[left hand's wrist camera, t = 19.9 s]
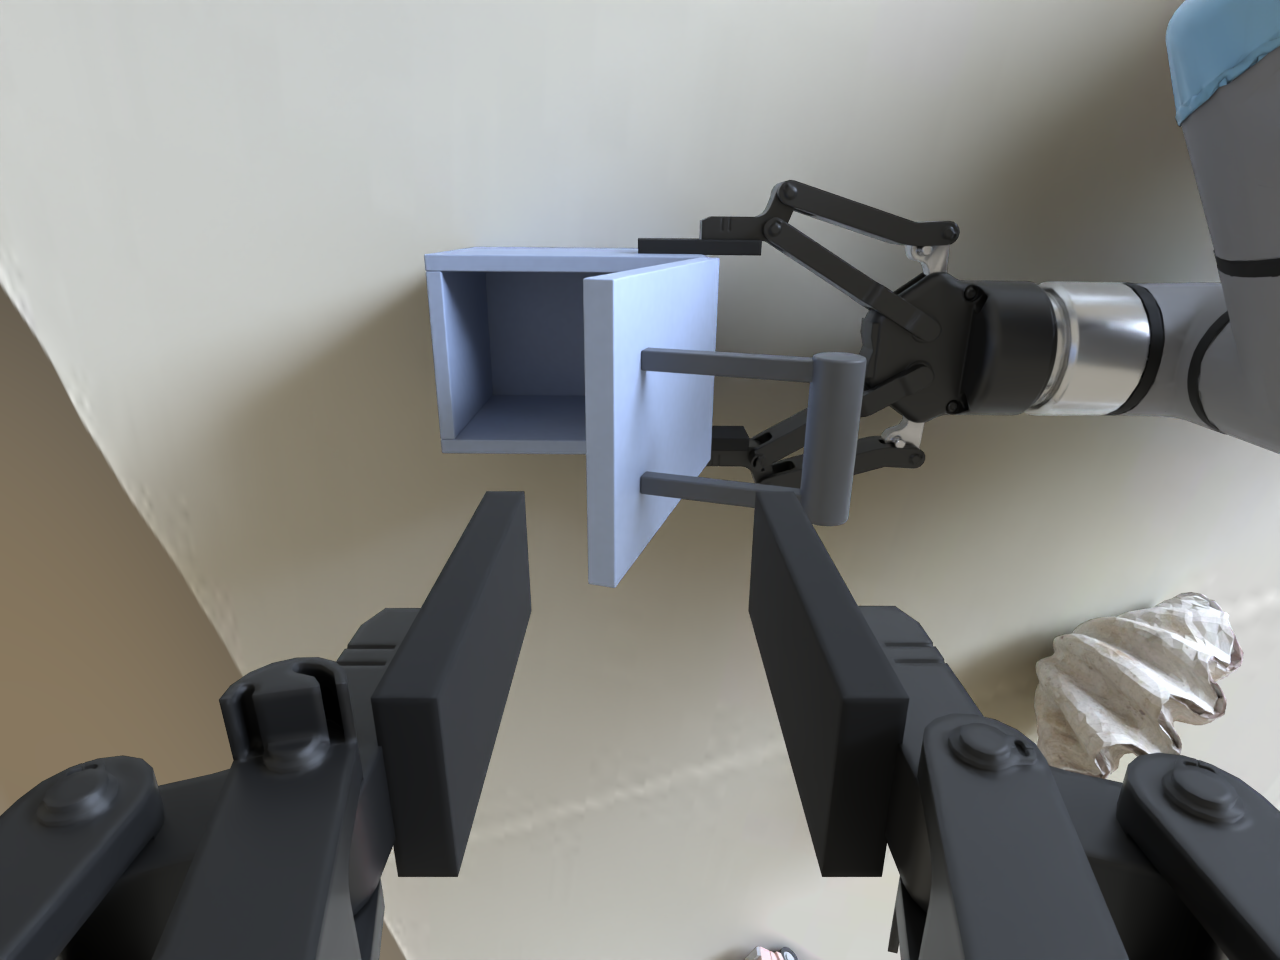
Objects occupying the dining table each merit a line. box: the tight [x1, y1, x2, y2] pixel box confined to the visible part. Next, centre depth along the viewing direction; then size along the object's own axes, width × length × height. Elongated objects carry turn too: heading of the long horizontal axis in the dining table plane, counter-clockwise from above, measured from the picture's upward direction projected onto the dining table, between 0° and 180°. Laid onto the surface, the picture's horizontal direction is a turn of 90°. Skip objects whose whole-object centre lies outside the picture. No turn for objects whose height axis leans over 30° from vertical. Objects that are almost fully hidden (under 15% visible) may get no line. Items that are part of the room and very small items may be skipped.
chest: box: [424, 247, 708, 454], centre depth 42 cm, size 14×10×11 cm
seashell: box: [1034, 592, 1243, 779], centre depth 50 cm, size 10×15×10 cm
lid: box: [583, 257, 867, 588], centre depth 28 cm, size 15×10×8 cm
